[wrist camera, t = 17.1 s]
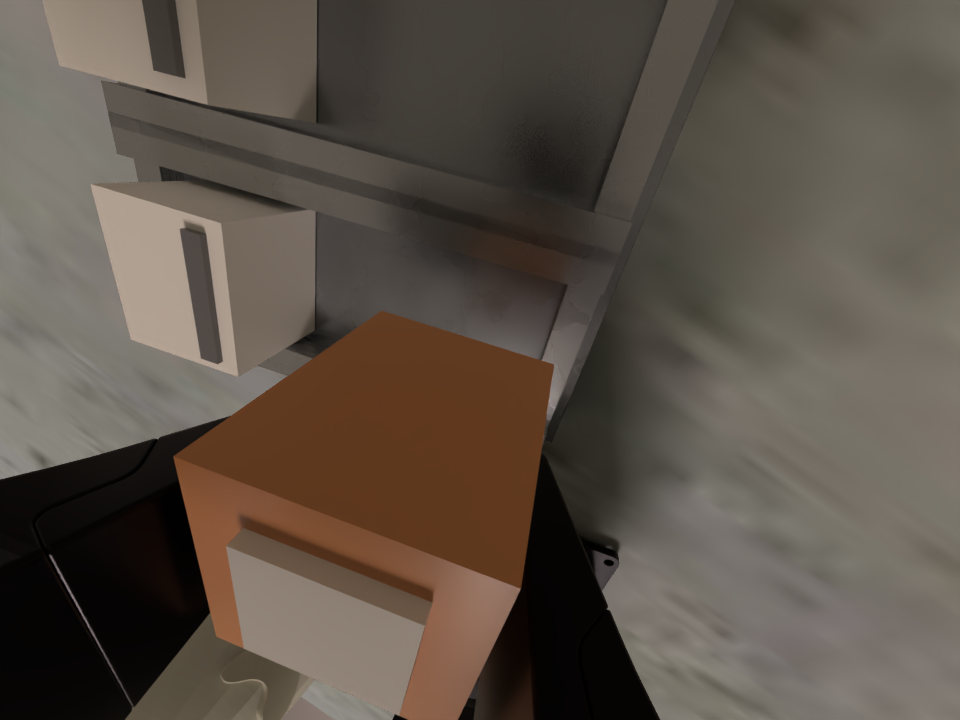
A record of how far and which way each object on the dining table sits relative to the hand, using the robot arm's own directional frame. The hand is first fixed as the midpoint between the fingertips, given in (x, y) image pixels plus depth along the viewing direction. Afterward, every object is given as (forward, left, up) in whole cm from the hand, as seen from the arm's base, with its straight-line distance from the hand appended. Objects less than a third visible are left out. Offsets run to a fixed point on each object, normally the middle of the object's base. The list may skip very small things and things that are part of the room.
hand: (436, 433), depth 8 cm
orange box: (0, 0, -1) cm, 1 cm away
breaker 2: (0, +9, -6) cm, 11 cm away
